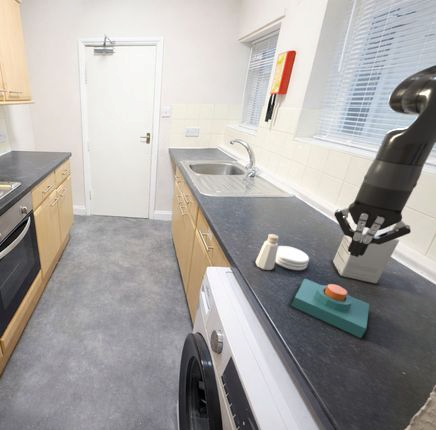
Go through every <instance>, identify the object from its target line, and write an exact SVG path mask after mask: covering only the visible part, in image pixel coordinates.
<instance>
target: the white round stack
mask: <svg viewBox="0 0 436 430" xmlns="http://www.w3.org/2000/svg"><path fill="white" fill-rule="evenodd" d="M309 262H310V257H309V255H308V254H307V253H306V252H304V251H303V250H301V249H299V248H296V247H293V246H288V245H278V249H277V255H276V260H275V264H277V265H278V266H280V267H282V268H285V269H288V270H292V271H303V270H306V268H307V267H308V265H309Z"/></svg>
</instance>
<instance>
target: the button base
mask: <svg viewBox="0 0 436 430" xmlns="http://www.w3.org/2000/svg"><path fill="white" fill-rule="evenodd" d="M327 285H328V284H323V285H322V284H319V283H317V282H314V281H312V280H311V279H310V280H309V279H307V278H304V279H303V280H302V282H301V285H300V286H299V288H298V290H297V292H296V293H295V295H294V299H293V301H292V303H291V307H292V308H295V309H297V310H299V311H301V312H303V313H306V314H308V315H310V316H313V317H314V318H317V319H318V320H320V321H323V322H325V323H327V324H329V325H331V326H334V327H336V328H338V329H340V330H342V331H345V332H347V333H348V334H351V335H353V336H355V337H357V338H359V339H362V337H363V336H364V334H365V333H366V330H367V328H368V320H369V319H368V318H369V312H370V303H368V302H365V301H362V300H360V299H358V298H355V297H353V296H351V295H350V294H348V293H347V295H346V297H345V299H344V300H343V301H338V300H335V299H332V298H330V297H329V296H327V295H326V294H325V290H326V287H327Z"/></svg>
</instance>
